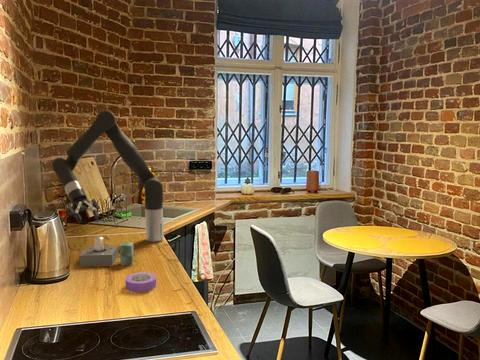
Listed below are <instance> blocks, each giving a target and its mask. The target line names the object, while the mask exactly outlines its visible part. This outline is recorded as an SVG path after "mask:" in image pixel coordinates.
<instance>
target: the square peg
mask: <svg viewBox="0 0 480 360" xmlns="http://www.w3.org/2000/svg"><path fill="white" fill-rule="evenodd" d="M119 251H120V252H119V254H120V256H119V257H120V266H132V265H133V264H134V262H135V261H134V260H135V259H134V258H135V257H134V256H135V255H134V242H133V241H131V242H130V241H129V242H126V241H125V242H121V244H120V245H119Z"/></svg>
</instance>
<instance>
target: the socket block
mask: <svg viewBox="0 0 480 360" xmlns="http://www.w3.org/2000/svg"><path fill="white" fill-rule="evenodd" d="M118 258H119V245H104V252H95V246H94V245H87V246H86V248H85V249H83V251H82V252H81V253H80V254H79V267H107V266H108V267H113V266H114V265H115V262H116V261H117V259H118Z"/></svg>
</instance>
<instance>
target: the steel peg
mask: <svg viewBox="0 0 480 360" xmlns="http://www.w3.org/2000/svg"><path fill="white" fill-rule="evenodd" d="M93 242H94V244H93V246H95V252H104V246H105V243H104V236H95V237H94V238H93Z"/></svg>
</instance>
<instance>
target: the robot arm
mask: <svg viewBox="0 0 480 360" xmlns="http://www.w3.org/2000/svg"><path fill="white" fill-rule="evenodd" d="M103 134H105V135H106V136H107V138H109V140H110V141H111V143H112V145H113V147H114V149H115V150H116V151H117V153H118V155H119V156H120V157H121V159H122V161H123V162H124V163H125V165H126V166H127V167H128V168H129V169H130V171H132V172H133V173H134V174H135V175H136V177H137V178H138V179H139V181H140V183H141V185H142V186H143V189H144V219H145V220H144V223H145V229H144V230H145V241H146V242H150V243H151V242H153V243H155V242H162V241H164V233H165V232H164V218H163V217H164V216H163V215H164V214H163V211H164V210H163V203H164V202H163V201H164V193H163V192H164V188H163V184H162V182H161V181H160V179H158V178H157V176H156V175H155V174H154V173H153V172H152V171H151V170H150V168H149V167H148V165H147V163H146V161H145V159H144V157H143V156H142V154H141V152H140V150H138V147H136V145H135V144H134V142H133V141H132V140H131V139H130V138H129V137H128V136H127V135H125V133H124V132H123V131H122V130H121V128H120V126H119V125H118V123H117V120H116V115H115V114H114V113H113V112H112V111H111V110H107V109H105V110H100V112H98V114H97V115H96V117H95V120H94V121H93V122H92V124H91V125H90V127H89V128H87V130H86V131H84V133H83V134H82V135H81V136H79V138H77V139H76V140H75V141H74V142H73V144H71V146H70V147H68V149H67V150H66V155H67V157H66V159H64V158H63V157H56V158H55V159H53V161H52V163H51V167H52V169H53V171H54V173H55V175H56V176H57V177H58V179H59V180H60V181H61V184H62V186H63V188H64V190H65V193H66V195H67V197H68V199H69V201H70V202H67V204H66V206H65V208H66V209H67V212H68V214H69V216H70V217H72V216H73V217H74V218H75V220H76V222H78V223H81V222H82V221H83V220H82V217H81V214H80V212H83V211H88V212H91V213H92V215H93V217H94V219H95V220H98V219H99V217H100V214H99V213H98V211H99V210H100V206H99V205H98V202H97V201H96V199H95V198H92V199H91V200H89V198H88V196H87V195H86V192H85V190H84V188H83V187H82V185H81V183H80V182H79V180H78V177H77V176H76V174H74V173H73V171H74V170H75V168H76V166H77V165H78V163H79V160H80V159H81V158H82V157H83V156H84V155H85V154H86V153H87V151H89V149H90V148H91V147H92V145H93V144H94V143H95V142H96V141H97V140H98V139H99V138H100V137H101V135H103ZM73 208H74V209H75V210H74V209H73Z"/></svg>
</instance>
